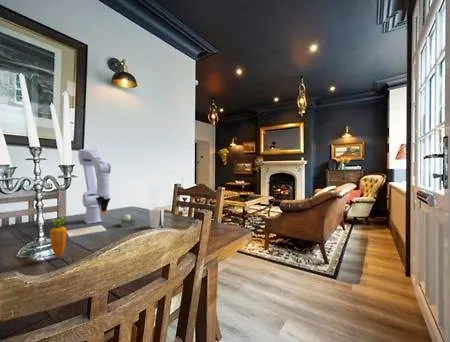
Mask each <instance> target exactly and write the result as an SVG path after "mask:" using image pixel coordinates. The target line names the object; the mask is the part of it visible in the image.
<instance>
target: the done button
mask: <svg viewBox="0 0 450 342" xmlns="http://www.w3.org/2000/svg"><path fill="white" fill-rule="evenodd" d="M131 218H132V217H131V214H130V213H129V214H128V213H127V214H122V215H121V219H122V221H129V220H131Z"/></svg>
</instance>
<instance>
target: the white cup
mask: <svg viewBox="0 0 450 342" xmlns="http://www.w3.org/2000/svg"><path fill="white" fill-rule="evenodd" d="M160 208H161V221H162V226H163V227H164V215H165V214H164V212H165V209H164V207H150V208H148V216H149V218H148V219H149V228H150V229H158V227H159V221H160ZM160 227H161V226H160Z"/></svg>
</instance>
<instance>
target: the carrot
mask: <svg viewBox="0 0 450 342" xmlns="http://www.w3.org/2000/svg"><path fill="white" fill-rule="evenodd" d="M64 219H65V218H64V217H63V216H62V217H60V218H59V219H54V218H52V219H51V221H52V223H53V225H54V226H55V227H53V228H50V230H49V238H50V239H49V240H50V245H51V249H52V251H53V252H52V253H54V255H55V257H56V258H57V259H60V258H61V257H62V255H63V254H64V251H65V249H66V246H67V245H66V244H67V237H68V235H67V230H68V229H67V228H66V227H64V224H65V222H64Z"/></svg>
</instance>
